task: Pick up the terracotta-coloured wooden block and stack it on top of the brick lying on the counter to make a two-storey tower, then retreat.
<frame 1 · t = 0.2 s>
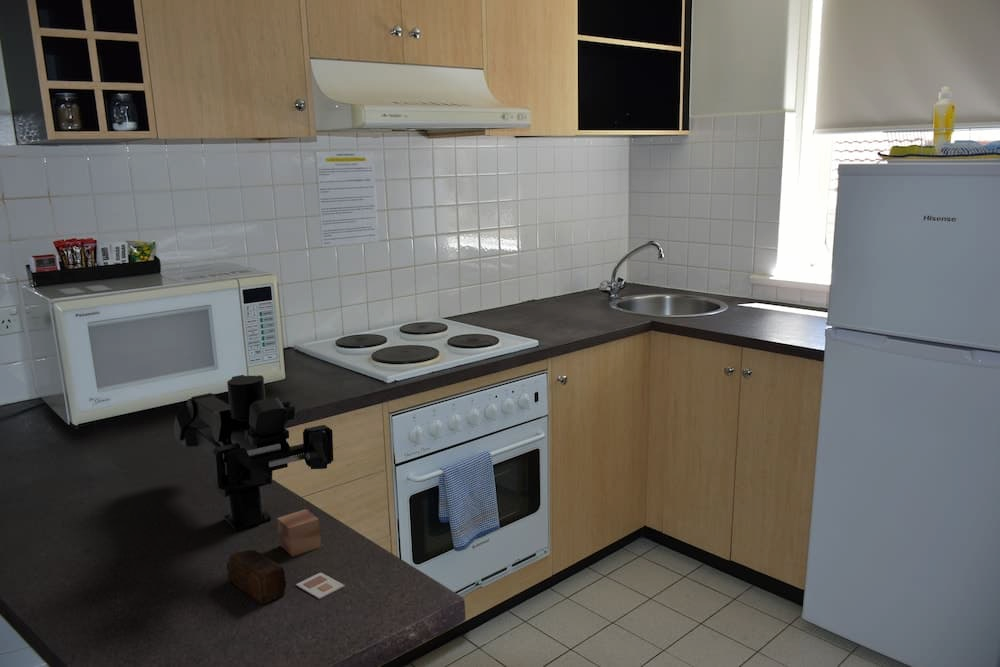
hand: (297, 472, 113), 16 cm above the countertop, tool horizontal, fingers open, 9 cm apart
instruction card: (320, 586, 113), on the countertop
brick: (257, 590, 114), on the countertop
top block: (300, 546, 126), on the countertop
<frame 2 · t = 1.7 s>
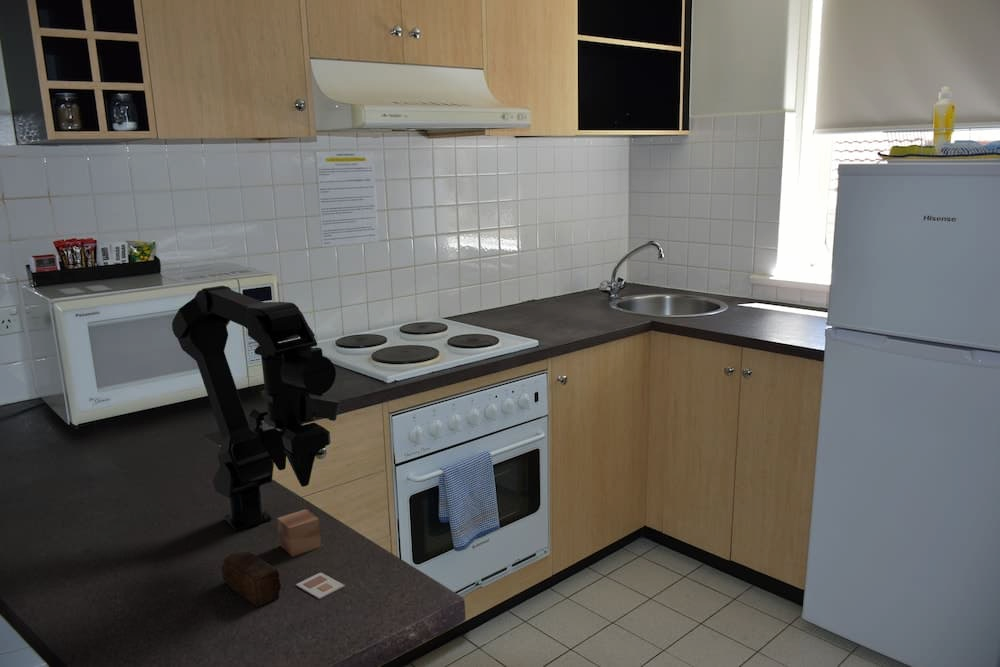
hand: (293, 477, 123), 12 cm above the countertop, tool pointing down, fingers open, 9 cm apart
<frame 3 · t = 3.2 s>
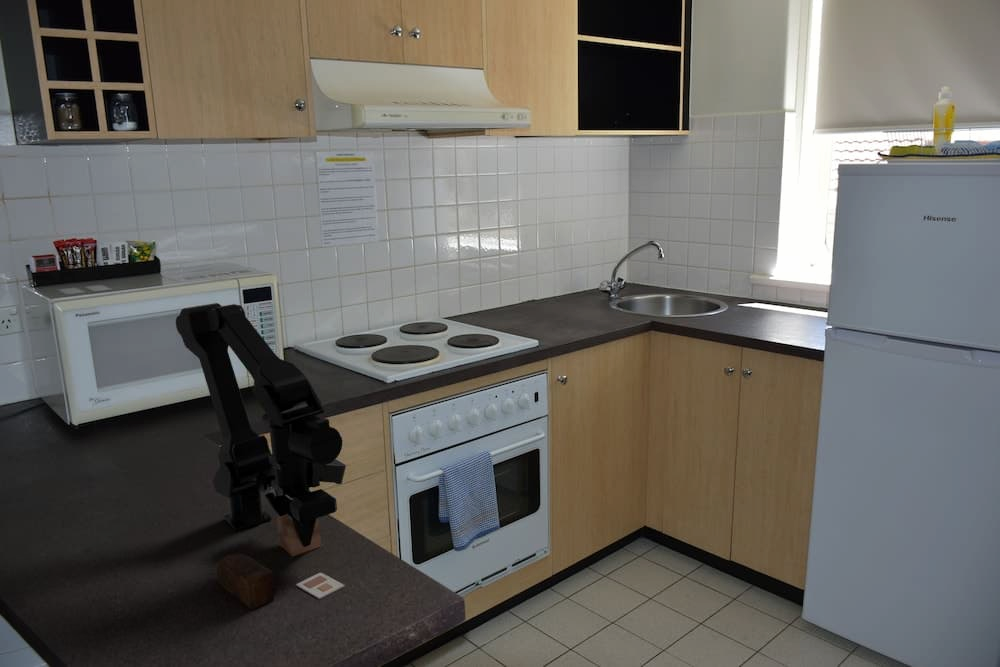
hand: (300, 540, 126), 1 cm above the countertop, tool pointing down, fingers closed on top block, 5 cm apart
top block: (300, 546, 126), on the countertop, touching gripper
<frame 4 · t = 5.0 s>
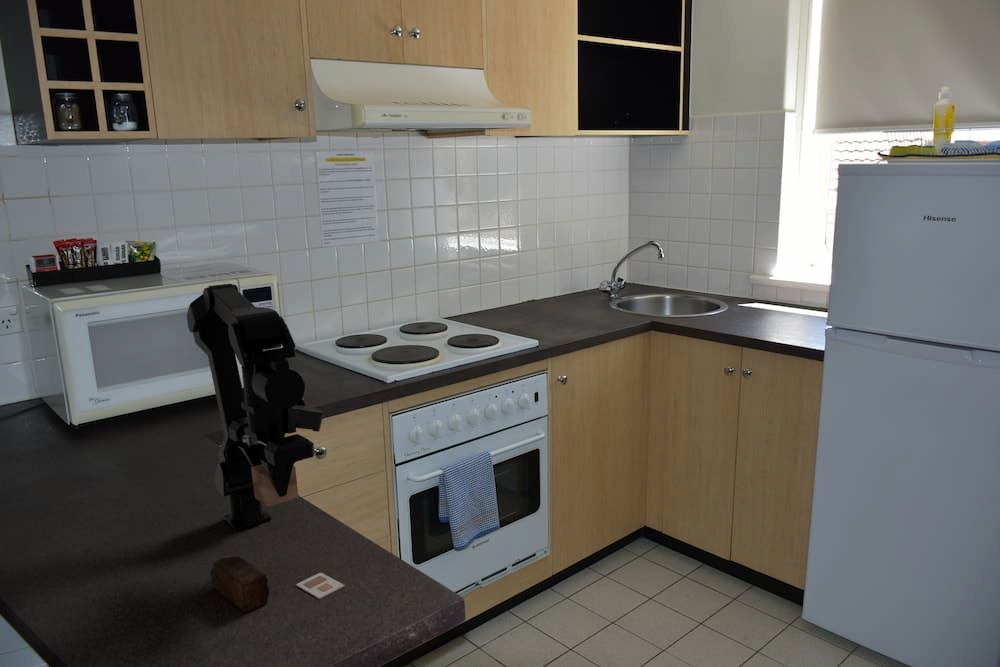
hand: (275, 491, 119), 12 cm above the countertop, tool pointing down, fingers closed on top block, 5 cm apart
top block: (276, 497, 119), point 11 cm above the countertop, touching gripper
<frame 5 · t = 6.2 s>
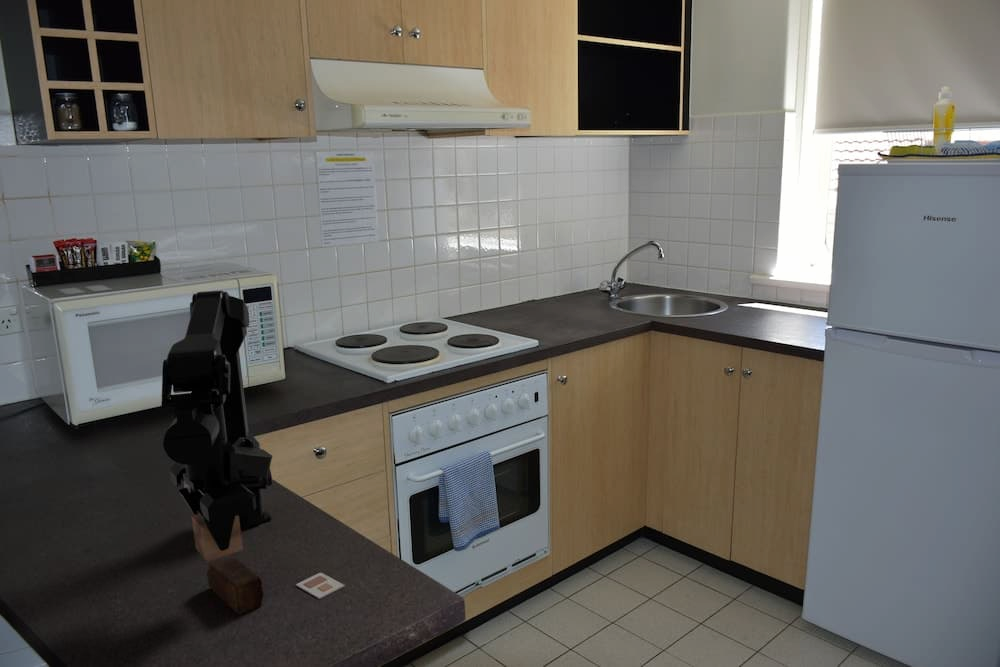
hand: (218, 542, 108), 9 cm above the countertop, tool pointing down, fingers closed on top block, 5 cm apart
top block: (219, 549, 109), point 8 cm above the countertop, touching gripper
when the fingers open (7 cm above the countertop, at t = 6.9 s): top block drops 1 cm, point 4 cm above the countertop.
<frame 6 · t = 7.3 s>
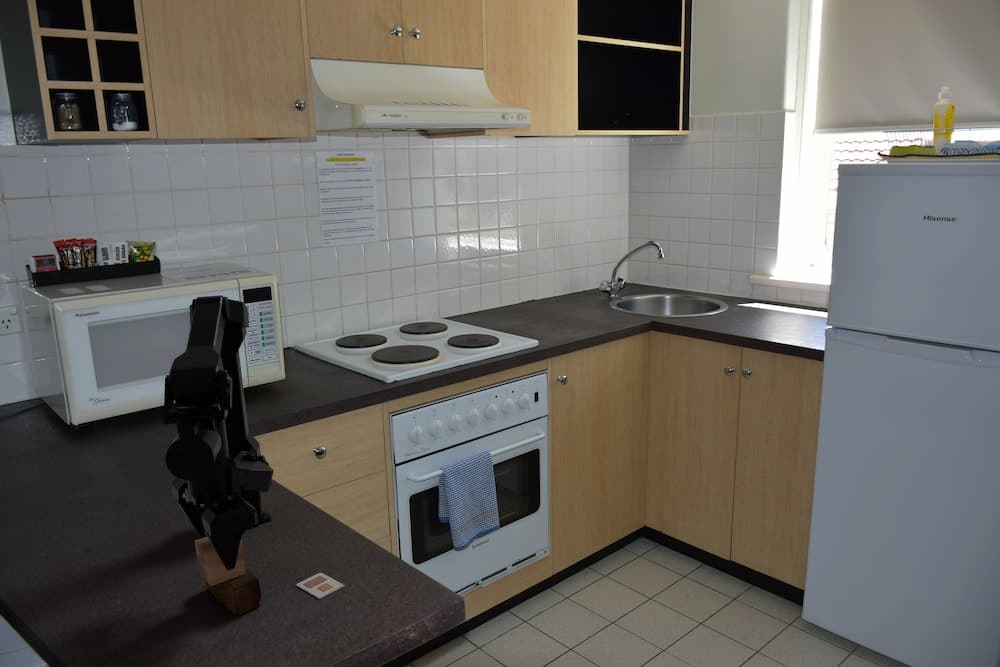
hand: (219, 556, 109), 7 cm above the countertop, tool pointing down, fingers open, 9 cm apart
top block: (222, 573, 109), point 4 cm above the countertop
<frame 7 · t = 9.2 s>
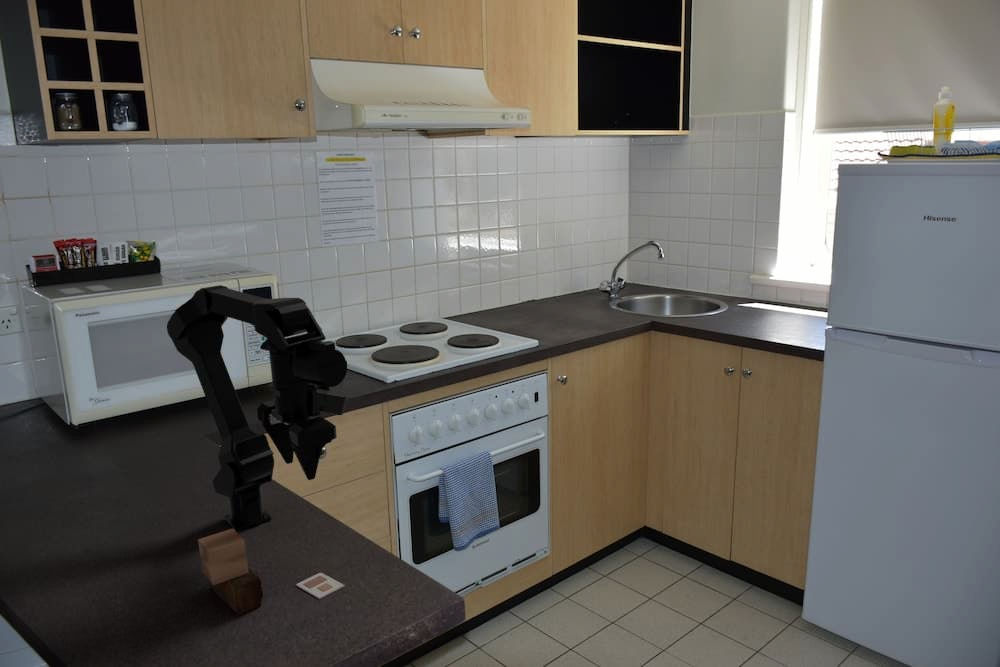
hand: (300, 470, 125), 12 cm above the countertop, tool pointing down, fingers open, 9 cm apart
brick: (236, 599, 111), on the countertop, touching top block
top block: (225, 572, 109), point 4 cm above the countertop, touching brick
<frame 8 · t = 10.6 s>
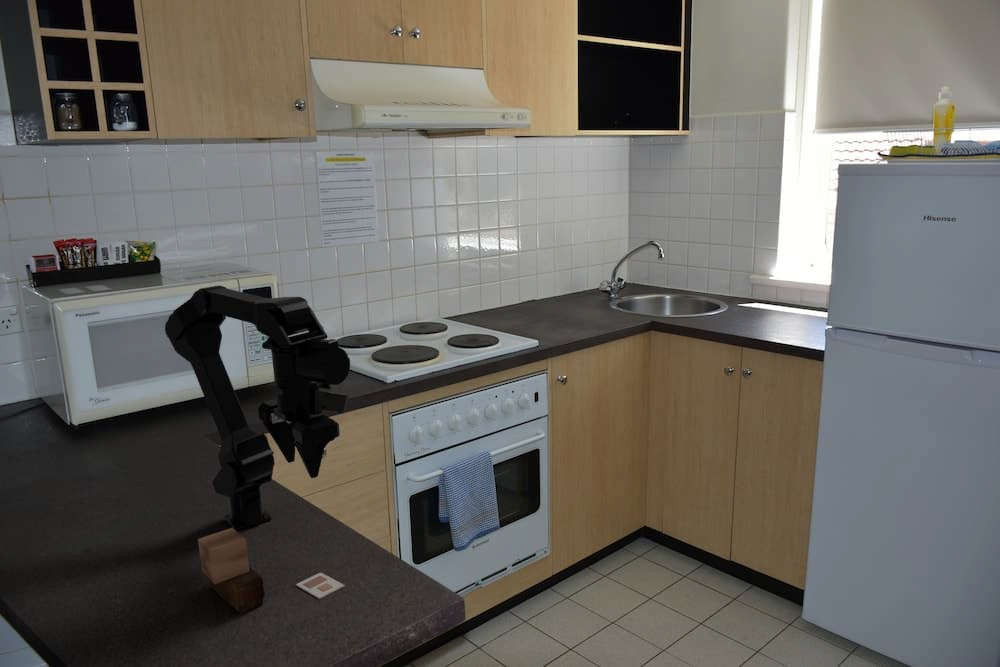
hand: (302, 469, 125), 13 cm above the countertop, tool pointing down, fingers open, 9 cm apart
nothing on the countertop moved.
at the end: top block inside the target area on the brick (1.3 cm from its centre), point 4.9 cm above the brick's base; top block touching brick; top block tilted 0° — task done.
